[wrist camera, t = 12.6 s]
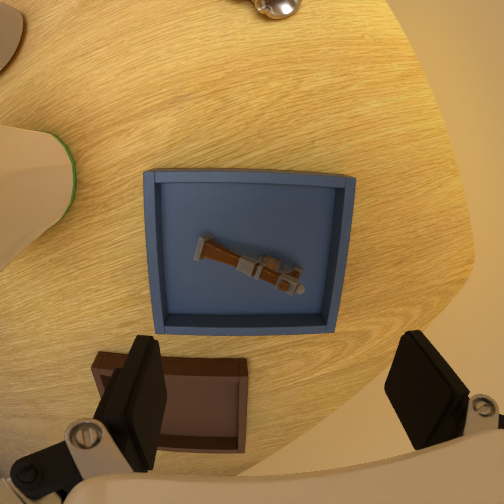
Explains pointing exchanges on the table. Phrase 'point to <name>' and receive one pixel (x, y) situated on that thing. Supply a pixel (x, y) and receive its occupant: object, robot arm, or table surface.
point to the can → (9, 32)
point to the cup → (31, 187)
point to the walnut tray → (195, 402)
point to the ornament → (277, 7)
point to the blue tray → (246, 248)
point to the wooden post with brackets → (252, 265)
